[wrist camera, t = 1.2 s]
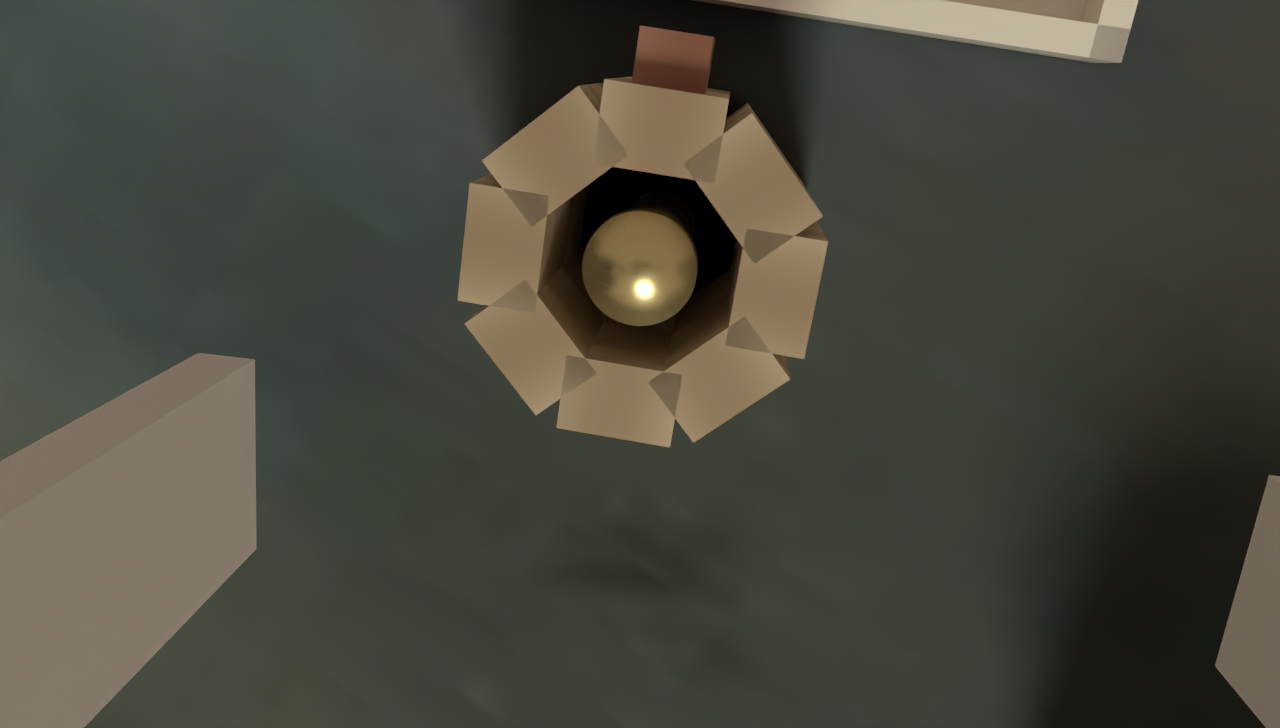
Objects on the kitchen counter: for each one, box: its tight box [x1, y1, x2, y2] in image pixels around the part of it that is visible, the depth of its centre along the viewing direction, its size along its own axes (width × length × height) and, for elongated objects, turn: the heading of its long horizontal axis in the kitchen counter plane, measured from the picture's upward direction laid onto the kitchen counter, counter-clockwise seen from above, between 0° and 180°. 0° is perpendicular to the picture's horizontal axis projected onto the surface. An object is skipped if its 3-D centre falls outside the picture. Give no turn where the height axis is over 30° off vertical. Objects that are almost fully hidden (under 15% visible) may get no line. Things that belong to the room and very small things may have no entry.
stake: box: [582, 191, 698, 326], centre depth 27 cm, size 3×3×7 cm
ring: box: [458, 25, 828, 447], centre depth 27 cm, size 8×9×7 cm
